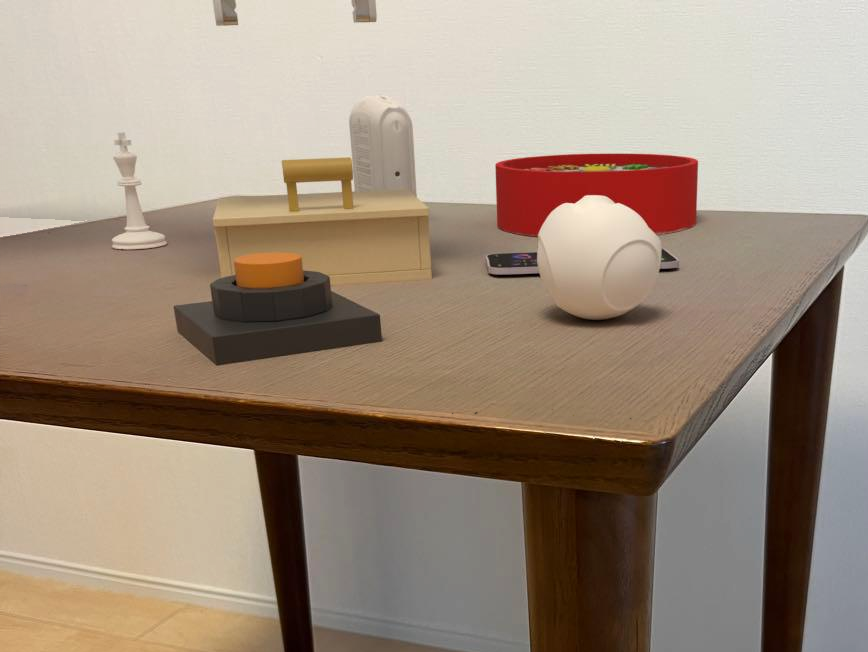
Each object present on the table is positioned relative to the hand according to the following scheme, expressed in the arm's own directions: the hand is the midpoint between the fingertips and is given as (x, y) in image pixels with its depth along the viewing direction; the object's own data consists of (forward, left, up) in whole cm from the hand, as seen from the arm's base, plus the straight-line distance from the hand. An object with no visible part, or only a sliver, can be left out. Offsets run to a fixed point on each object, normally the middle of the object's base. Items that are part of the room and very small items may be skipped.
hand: (297, 24), depth 76 cm
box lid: (+2, +5, -13) cm, 14 cm away
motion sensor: (+11, -22, -18) cm, 30 cm away
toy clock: (+34, +15, -18) cm, 41 cm away
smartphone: (+20, -5, -18) cm, 27 cm away
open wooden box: (+2, +5, -18) cm, 19 cm away
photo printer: (+17, +29, -18) cm, 38 cm away
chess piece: (-8, +29, -18) cm, 35 cm away
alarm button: (-8, -15, -15) cm, 22 cm away
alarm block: (-8, -15, -18) cm, 25 cm away
